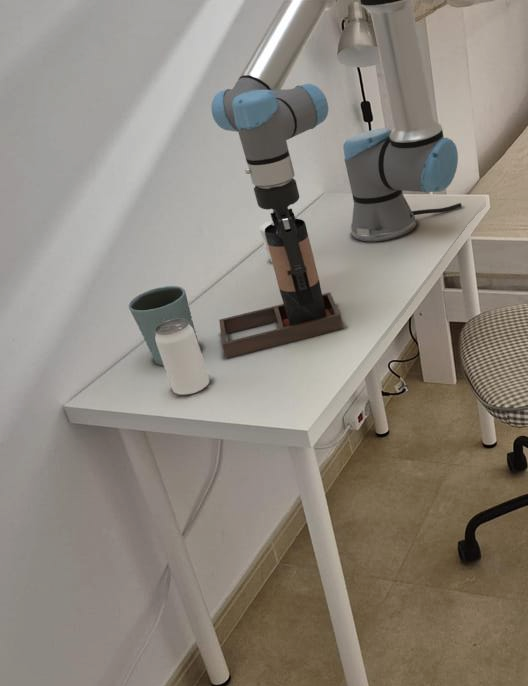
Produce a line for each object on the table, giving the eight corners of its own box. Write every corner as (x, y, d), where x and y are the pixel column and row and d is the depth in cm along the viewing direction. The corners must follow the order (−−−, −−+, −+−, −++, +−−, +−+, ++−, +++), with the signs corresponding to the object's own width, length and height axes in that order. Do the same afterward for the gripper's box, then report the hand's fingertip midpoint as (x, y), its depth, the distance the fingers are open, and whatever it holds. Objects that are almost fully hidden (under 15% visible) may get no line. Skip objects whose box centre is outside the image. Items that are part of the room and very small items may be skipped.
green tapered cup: (213, 350, 164) (194, 292, 158) (164, 374, 158) (144, 315, 152) (186, 336, 170) (168, 281, 164) (139, 359, 165) (118, 302, 159)
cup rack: (223, 333, 170) (219, 319, 168) (333, 305, 174) (330, 292, 172) (226, 358, 160) (222, 344, 158) (343, 328, 164) (340, 314, 163)
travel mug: (320, 332, 164) (296, 233, 154) (283, 333, 166) (257, 235, 156) (334, 313, 170) (311, 217, 160) (297, 314, 172) (273, 219, 162)
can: (206, 393, 150) (186, 331, 144) (169, 398, 150) (147, 337, 144) (213, 374, 155) (194, 314, 149) (177, 379, 155) (157, 320, 149)
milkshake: (273, 267, 196) (262, 225, 191) (265, 260, 200) (254, 219, 196) (292, 260, 198) (281, 219, 193) (283, 254, 202) (273, 213, 197)
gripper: (247, 168, 164) (274, 271, 174) (259, 207, 143) (289, 321, 153) (286, 160, 165) (311, 262, 176) (304, 197, 144) (331, 310, 155)
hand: (301, 290), depth 164 cm, fingers open, 13 cm apart
